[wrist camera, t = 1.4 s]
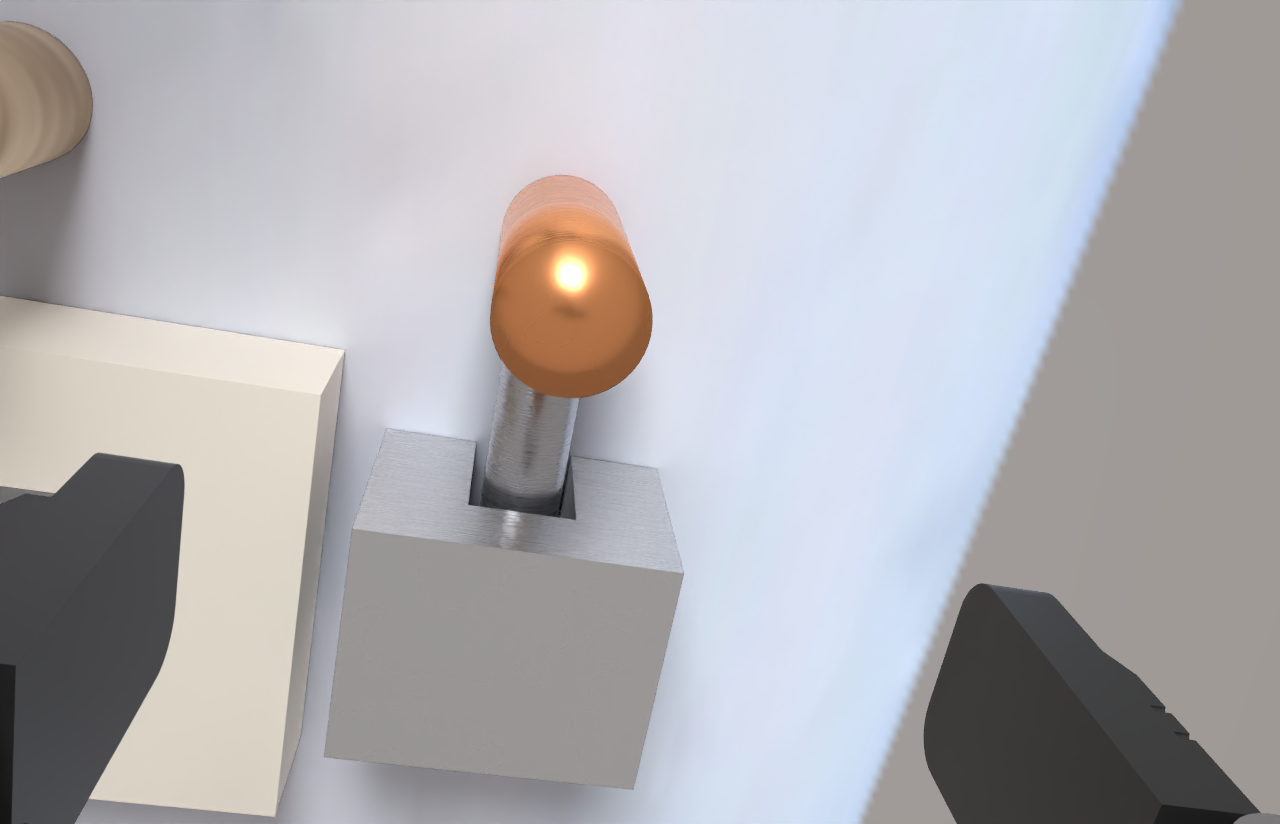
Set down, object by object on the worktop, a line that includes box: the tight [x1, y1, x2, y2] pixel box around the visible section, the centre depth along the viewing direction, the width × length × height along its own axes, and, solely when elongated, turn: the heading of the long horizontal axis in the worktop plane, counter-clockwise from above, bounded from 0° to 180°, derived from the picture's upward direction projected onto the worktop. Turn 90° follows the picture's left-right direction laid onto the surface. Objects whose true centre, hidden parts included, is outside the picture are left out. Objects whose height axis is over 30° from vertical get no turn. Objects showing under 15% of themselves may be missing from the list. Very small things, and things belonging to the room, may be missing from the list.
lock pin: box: [479, 175, 652, 517], centre depth 27 cm, size 3×16×8 cm, turn 169°
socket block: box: [0, 296, 345, 817], centre depth 29 cm, size 12×12×4 cm
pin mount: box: [324, 429, 684, 790], centre depth 29 cm, size 7×6×6 cm
